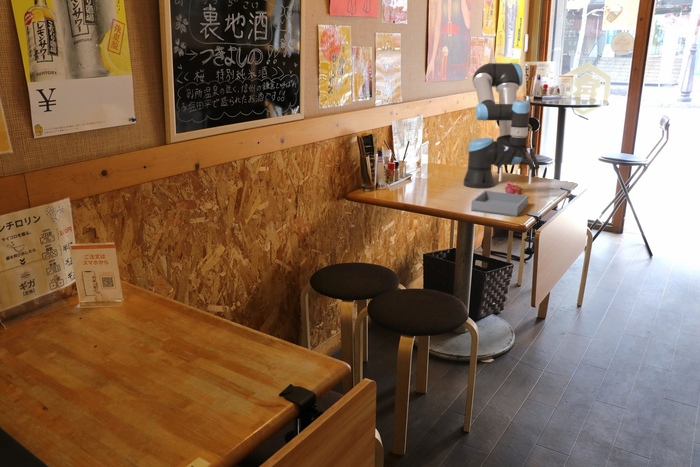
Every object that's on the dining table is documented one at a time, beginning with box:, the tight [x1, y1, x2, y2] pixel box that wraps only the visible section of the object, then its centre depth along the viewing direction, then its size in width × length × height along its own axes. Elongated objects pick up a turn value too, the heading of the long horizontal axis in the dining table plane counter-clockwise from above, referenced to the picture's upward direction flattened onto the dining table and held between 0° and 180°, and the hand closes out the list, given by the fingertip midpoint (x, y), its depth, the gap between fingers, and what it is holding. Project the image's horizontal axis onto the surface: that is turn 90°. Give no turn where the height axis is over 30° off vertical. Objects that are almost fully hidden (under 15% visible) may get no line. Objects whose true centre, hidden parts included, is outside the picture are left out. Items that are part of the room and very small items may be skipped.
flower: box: [504, 180, 525, 195], centre depth 267 cm, size 10×9×8 cm
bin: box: [470, 190, 529, 218], centre depth 251 cm, size 20×20×4 cm
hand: (515, 182), depth 265 cm, fingers open, 13 cm apart
